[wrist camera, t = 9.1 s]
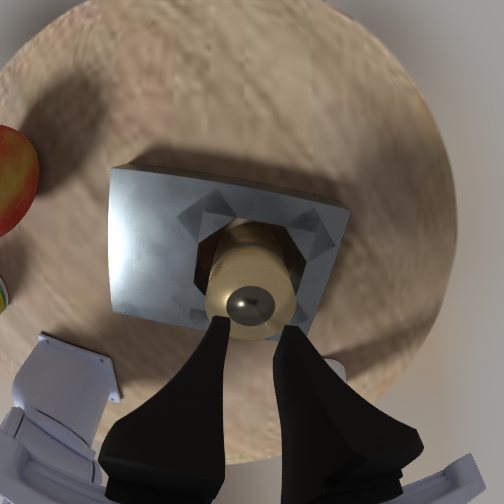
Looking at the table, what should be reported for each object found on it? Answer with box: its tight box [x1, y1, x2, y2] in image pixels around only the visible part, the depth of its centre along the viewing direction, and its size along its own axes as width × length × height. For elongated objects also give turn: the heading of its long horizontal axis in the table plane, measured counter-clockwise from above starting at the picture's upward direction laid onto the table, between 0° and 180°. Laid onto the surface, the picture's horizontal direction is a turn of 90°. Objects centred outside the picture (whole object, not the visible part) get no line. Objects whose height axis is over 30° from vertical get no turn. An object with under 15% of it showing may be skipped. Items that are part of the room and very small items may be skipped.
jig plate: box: [108, 163, 351, 341], centre depth 17 cm, size 14×10×2 cm
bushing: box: [205, 225, 296, 341], centre depth 16 cm, size 4×4×6 cm
